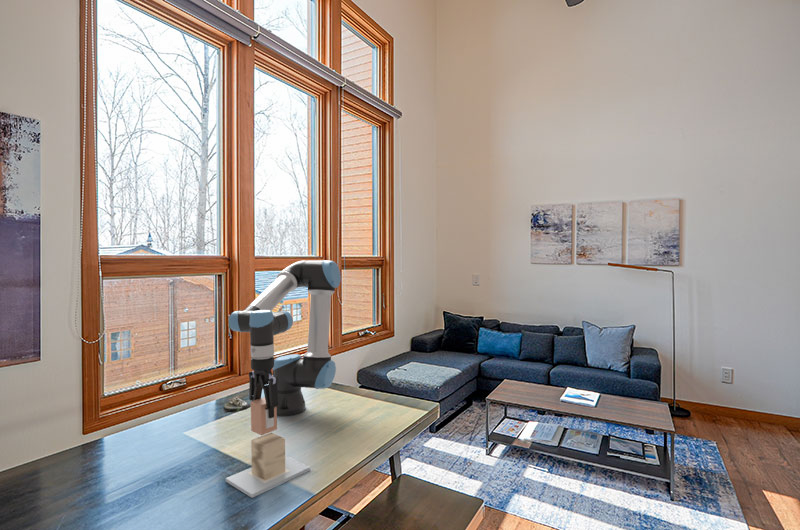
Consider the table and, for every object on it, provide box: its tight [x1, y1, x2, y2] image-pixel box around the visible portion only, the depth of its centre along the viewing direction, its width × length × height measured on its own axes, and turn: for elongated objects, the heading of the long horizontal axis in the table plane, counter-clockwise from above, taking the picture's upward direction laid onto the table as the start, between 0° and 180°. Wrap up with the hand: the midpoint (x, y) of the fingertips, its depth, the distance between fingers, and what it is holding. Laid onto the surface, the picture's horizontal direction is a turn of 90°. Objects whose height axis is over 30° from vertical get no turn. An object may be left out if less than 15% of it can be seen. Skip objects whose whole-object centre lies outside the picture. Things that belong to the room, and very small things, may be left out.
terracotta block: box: [250, 396, 278, 437], centre depth 148 cm, size 6×6×10 cm
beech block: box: [250, 432, 286, 480], centre depth 132 cm, size 7×7×10 cm
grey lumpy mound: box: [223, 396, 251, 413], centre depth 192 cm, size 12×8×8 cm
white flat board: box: [225, 454, 311, 499], centre depth 132 cm, size 14×20×1 cm
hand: (264, 424), depth 148 cm, fingers closed on terracotta block, 6 cm apart
